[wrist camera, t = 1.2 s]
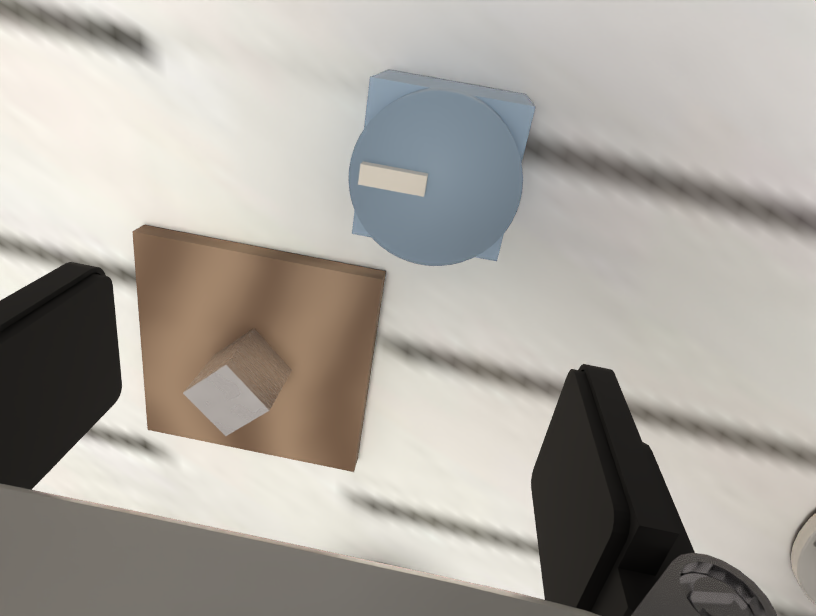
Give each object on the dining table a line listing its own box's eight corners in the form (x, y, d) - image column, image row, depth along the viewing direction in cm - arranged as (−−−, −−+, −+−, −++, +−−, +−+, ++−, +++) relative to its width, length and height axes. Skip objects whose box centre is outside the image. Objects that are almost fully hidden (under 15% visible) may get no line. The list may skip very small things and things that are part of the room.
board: (385, 271, 31) (382, 279, 30) (357, 459, 37) (353, 471, 36) (144, 224, 31) (132, 231, 30) (157, 418, 38) (147, 429, 37)
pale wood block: (254, 328, 32) (226, 364, 29) (291, 370, 33) (269, 410, 30) (214, 354, 33) (182, 393, 30) (252, 394, 34) (225, 436, 31)
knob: (528, 92, 26) (544, 111, 19) (495, 228, 29) (500, 284, 23) (386, 66, 26) (356, 77, 20) (369, 204, 29) (337, 253, 23)
